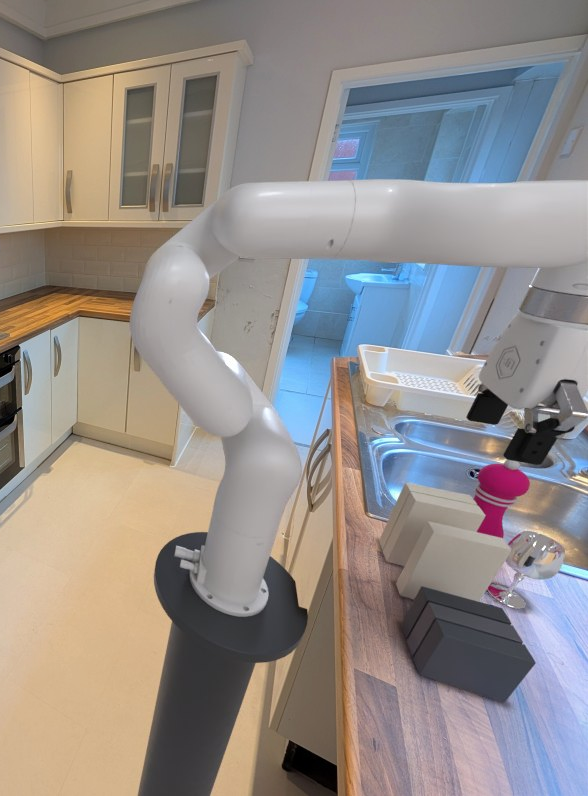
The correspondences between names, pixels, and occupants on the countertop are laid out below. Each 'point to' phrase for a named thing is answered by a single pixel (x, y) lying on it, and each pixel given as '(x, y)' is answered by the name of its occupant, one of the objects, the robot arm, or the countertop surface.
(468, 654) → the dark grey grooved block
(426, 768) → the countertop surface
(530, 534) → the wineglass
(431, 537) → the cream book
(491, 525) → the pepper mill
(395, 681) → the countertop surface
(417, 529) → the beige rectangular block
